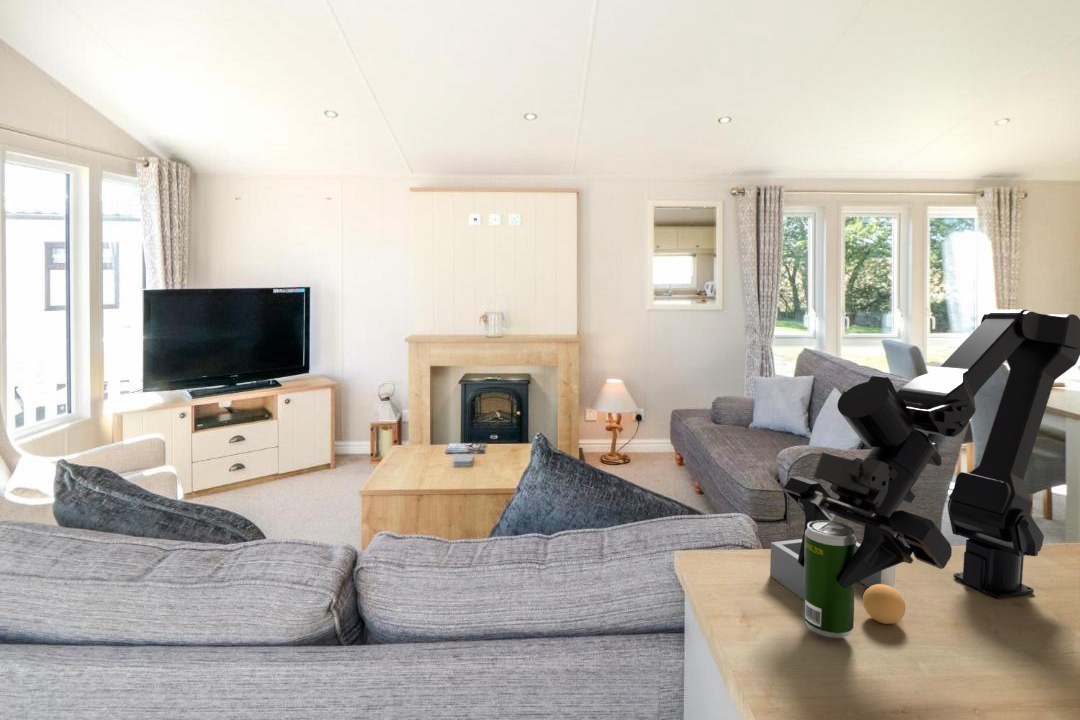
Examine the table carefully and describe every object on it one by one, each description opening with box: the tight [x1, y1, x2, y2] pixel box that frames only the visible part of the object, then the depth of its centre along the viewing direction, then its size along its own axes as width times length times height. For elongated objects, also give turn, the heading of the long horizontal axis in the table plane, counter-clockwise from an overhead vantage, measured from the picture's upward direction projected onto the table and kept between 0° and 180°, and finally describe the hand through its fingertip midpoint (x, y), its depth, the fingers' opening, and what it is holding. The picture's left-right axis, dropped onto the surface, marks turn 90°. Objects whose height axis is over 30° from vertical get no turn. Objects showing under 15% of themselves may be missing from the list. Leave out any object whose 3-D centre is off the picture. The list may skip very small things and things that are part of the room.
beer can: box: [802, 520, 857, 639], centre depth 67 cm, size 5×5×12 cm
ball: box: [862, 584, 906, 625], centre depth 70 cm, size 4×4×4 cm
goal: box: [769, 538, 897, 600], centre depth 79 cm, size 13×10×7 cm
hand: (820, 574), depth 66 cm, fingers closed on beer can, 5 cm apart
